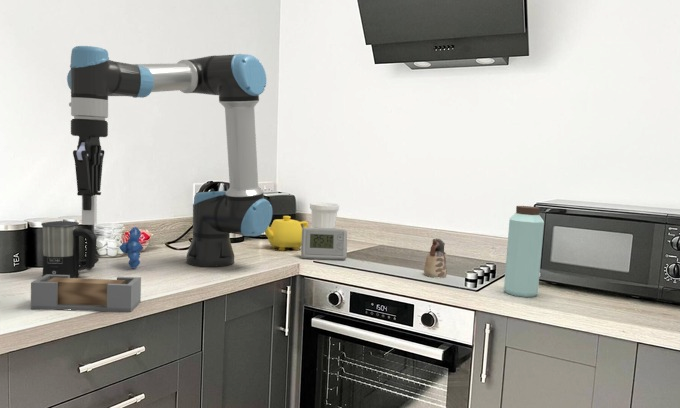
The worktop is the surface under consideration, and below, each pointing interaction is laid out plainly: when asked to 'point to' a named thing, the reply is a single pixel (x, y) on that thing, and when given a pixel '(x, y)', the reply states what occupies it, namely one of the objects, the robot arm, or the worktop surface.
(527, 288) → the water bottle
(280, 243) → the teapot
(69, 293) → the slat
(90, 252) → the milk frother
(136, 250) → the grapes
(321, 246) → the digital clock
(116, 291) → the rail
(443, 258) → the figurine
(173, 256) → the worktop surface
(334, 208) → the cup
